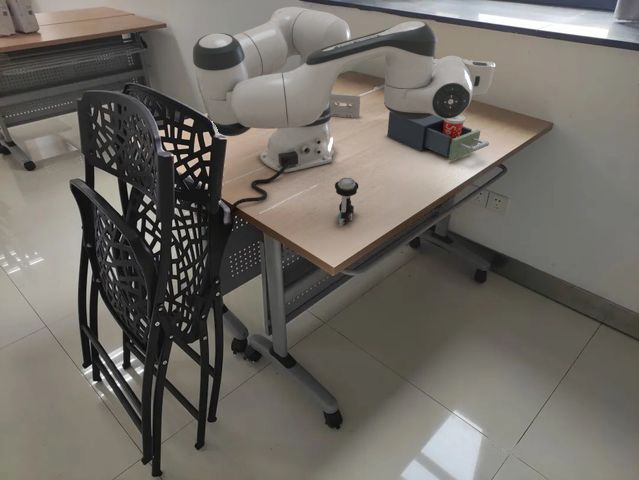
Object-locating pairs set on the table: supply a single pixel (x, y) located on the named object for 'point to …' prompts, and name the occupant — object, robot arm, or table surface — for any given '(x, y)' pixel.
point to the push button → (346, 198)
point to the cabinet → (410, 130)
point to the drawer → (453, 141)
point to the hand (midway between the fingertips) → (448, 61)
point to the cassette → (345, 110)
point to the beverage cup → (453, 127)
